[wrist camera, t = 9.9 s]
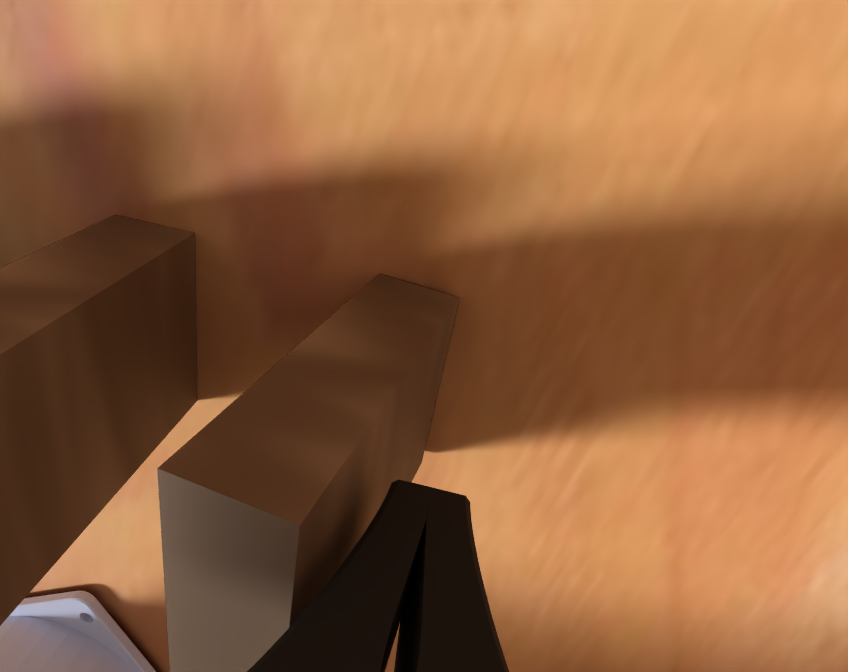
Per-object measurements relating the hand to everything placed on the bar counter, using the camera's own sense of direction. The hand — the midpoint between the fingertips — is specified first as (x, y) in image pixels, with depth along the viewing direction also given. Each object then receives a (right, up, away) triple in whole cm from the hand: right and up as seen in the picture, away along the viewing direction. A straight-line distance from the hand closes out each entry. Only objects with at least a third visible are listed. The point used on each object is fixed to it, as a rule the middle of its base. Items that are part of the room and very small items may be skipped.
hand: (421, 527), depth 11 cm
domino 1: (-7, +4, +5) cm, 9 cm away
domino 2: (-1, +2, +4) cm, 5 cm away
